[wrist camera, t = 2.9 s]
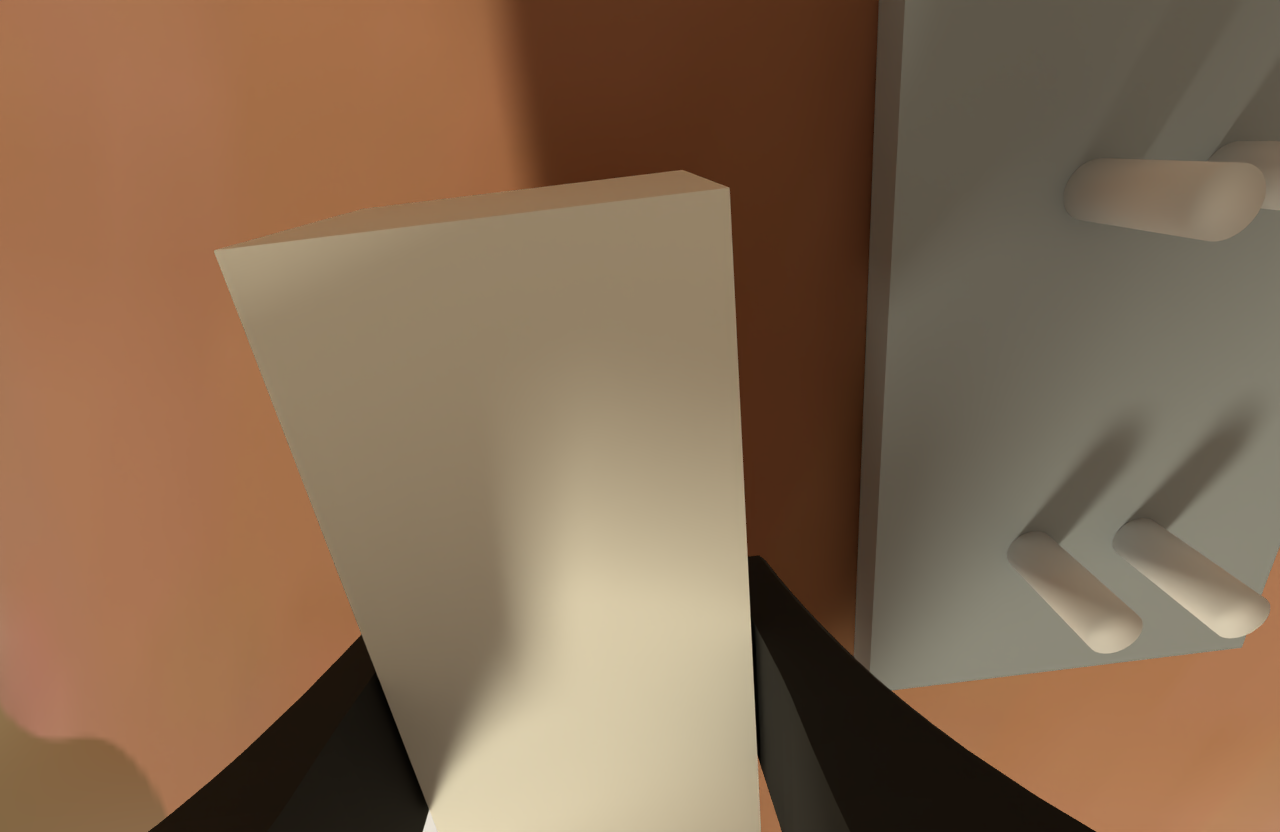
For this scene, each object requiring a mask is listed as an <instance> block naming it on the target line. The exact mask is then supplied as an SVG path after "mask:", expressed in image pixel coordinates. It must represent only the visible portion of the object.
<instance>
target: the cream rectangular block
mask: <svg viewBox="0 0 1280 832" xmlns="http://www.w3.org/2000/svg"><path fill="white" fill-rule="evenodd" d="M214 253H215V255H216V258H217V260H218V263H219V266H220V268H221V271H222V273H223V276H224V279H225V281H226V284H227V286H228V289H229V292H230V294H231V297H232V299H233V302H234V305H235V307H236V310H237V312H238V315H239V318H240V320H241V323H242V325H243V328H244V330H245V333H246V336H247V338H248V341H249V343H250V346H251V349H252V351H253V354H254V356H255V359H256V362H257V364H258V367H259V369H260V372H261V375H262V377H263V380H264V382H265V385H266V388H267V390H268V393H269V395H270V398H271V401H272V403H273V406H274V408H275V411H276V414H277V416H278V419H279V421H280V424H281V426H282V429H283V432H284V434H285V437H286V439H287V442H288V445H289V447H290V450H291V452H292V455H293V458H294V460H295V463H296V465H297V468H298V471H299V473H300V476H301V478H302V481H303V484H304V486H305V489H306V491H307V494H308V497H309V499H310V502H311V504H312V507H313V510H314V512H315V515H316V517H317V520H318V522H319V525H320V528H321V530H322V533H323V535H324V538H325V541H326V543H327V546H328V548H329V551H330V554H331V556H332V559H333V561H334V564H335V567H336V569H337V572H338V574H339V577H340V580H341V582H342V585H343V587H344V590H345V593H346V595H347V598H348V600H349V603H350V606H351V608H352V611H353V613H354V616H355V618H356V621H357V624H358V626H359V629H360V631H361V634H362V637H363V639H364V642H365V644H366V647H367V650H368V652H369V655H370V657H371V660H372V663H373V665H374V668H375V670H376V673H377V676H378V678H379V681H380V683H381V686H382V689H383V691H384V694H385V696H386V699H387V702H388V704H389V707H390V709H391V712H392V714H393V717H394V720H395V722H396V725H397V727H398V730H399V733H400V735H401V738H402V740H403V743H404V746H405V748H406V751H407V753H408V756H409V759H410V761H411V764H412V766H413V769H414V772H415V774H416V777H417V779H418V782H419V785H420V787H421V790H422V792H423V795H424V798H425V800H426V803H427V805H428V808H429V810H430V813H431V816H432V818H433V821H434V823H435V826H436V829H437V831H438V832H761V822H760V801H759V781H758V760H757V740H756V719H755V699H754V678H753V658H752V637H751V617H750V596H749V575H748V555H747V534H746V514H745V493H744V473H743V452H742V432H741V411H740V391H739V370H738V349H737V329H736V308H735V288H734V267H733V247H732V226H731V206H730V188H729V187H727V186H724V185H722V184H719V183H716V182H714V181H711V180H708V179H706V178H703V177H700V176H698V175H695V174H692V173H690V172H687V171H684V170H677V171H669V172H661V173H653V174H644V175H636V176H628V177H620V178H612V179H603V180H595V181H587V182H579V183H571V184H562V185H554V186H546V187H538V188H529V189H521V190H513V191H505V192H497V193H489V194H480V195H472V196H464V197H456V198H448V199H439V200H431V201H423V202H415V203H406V204H398V205H390V206H382V207H374V208H365V209H360V210H357V211H353V212H350V213H346V214H342V215H339V216H335V217H332V218H328V219H325V220H321V221H317V222H314V223H310V224H307V225H303V226H299V227H296V228H292V229H289V230H285V231H282V232H278V233H274V234H271V235H267V236H264V237H260V238H257V239H253V240H249V241H246V242H242V243H239V244H235V245H232V246H228V247H224V248H221V249H217V250H214Z"/></svg>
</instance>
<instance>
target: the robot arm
mask: <svg viewBox="0 0 1280 832" xmlns="http://www.w3.org/2000/svg"><path fill="white" fill-rule="evenodd" d="M748 575H749V596H750V617H751V637H752V658H753V678H754V699H755V719H756V740H757V755H758V758H759V761H760V765H761V768H762V771H763V774H764V777H765V780H766V783H767V786H768V789H769V793H770V796H771V799H772V802H773V805H774V808H775V811H776V814H777V818H778V821H779V824H780V827H781V830H782V832H1096V831H1094V830H1092V829H1091V828H1089V827H1087V826H1086V825H1084V824H1082V823H1081V822H1079V821H1077V820H1076V819H1074V818H1072V817H1071V816H1069V815H1067V814H1066V813H1064V812H1062V811H1061V810H1059V809H1057V808H1056V807H1054V806H1052V805H1050V804H1049V803H1047V802H1045V801H1044V800H1042V799H1041V798H1039V797H1037V796H1036V795H1034V794H1033V793H1031V792H1030V791H1028V790H1027V789H1025V788H1024V787H1022V786H1021V785H1019V784H1018V783H1016V782H1015V781H1013V780H1012V779H1010V778H1009V777H1007V776H1006V775H1004V774H1003V773H1001V772H1000V771H998V770H997V769H995V768H994V767H992V766H991V765H989V764H988V763H986V762H985V761H983V760H982V759H980V758H979V757H977V756H976V755H974V754H973V753H971V752H970V751H968V750H967V749H965V748H964V747H963V746H961V745H960V744H959V743H957V742H956V741H955V740H953V739H952V738H951V737H949V736H948V735H947V734H945V733H944V732H942V731H941V730H940V729H938V728H937V727H936V726H934V725H933V724H932V723H931V722H929V721H928V720H927V719H925V718H924V717H923V716H922V715H920V714H919V713H918V712H917V711H915V710H914V709H913V708H912V707H910V706H909V705H908V704H907V703H905V702H904V701H903V700H902V699H901V698H899V697H898V696H897V695H896V694H895V693H893V692H892V691H891V690H890V689H889V688H888V687H886V686H885V685H884V684H883V683H882V682H881V681H879V680H878V679H877V678H876V677H875V676H874V675H873V674H872V673H871V672H870V671H868V670H867V669H866V668H865V667H864V666H863V665H862V664H861V663H860V662H859V661H857V660H856V659H855V658H854V657H853V656H852V655H851V654H850V653H849V652H848V651H847V650H846V649H845V648H844V647H843V646H842V645H841V644H840V643H839V642H838V641H837V640H836V639H835V638H834V637H833V636H832V635H831V634H830V633H829V632H828V631H827V630H826V629H825V628H824V627H823V626H822V625H821V624H820V623H819V622H818V621H817V620H816V619H815V618H814V617H813V616H812V615H811V614H810V612H809V611H808V610H807V609H806V608H805V607H804V606H803V605H802V604H801V603H800V601H799V600H798V599H797V598H796V597H795V596H794V595H793V594H792V592H791V591H790V590H789V589H788V588H787V587H786V585H785V584H784V583H783V582H782V581H781V579H780V578H779V577H778V576H777V575H776V573H775V572H774V571H773V570H772V568H771V567H770V566H769V564H768V563H767V562H766V560H764V559H763V558H762V557H760V556H751V557H748ZM149 832H438V831H437V829H436V826H435V823H434V821H433V818H432V816H431V813H430V810H429V808H428V805H427V803H426V800H425V798H424V795H423V792H422V790H421V787H420V785H419V782H418V779H417V777H416V774H415V772H414V769H413V766H412V764H411V761H410V759H409V756H408V753H407V751H406V748H405V746H404V743H403V740H402V738H401V735H400V733H399V730H398V727H397V725H396V722H395V720H394V717H393V714H392V712H391V709H390V707H389V704H388V702H387V699H386V696H385V694H384V691H383V689H382V686H381V683H380V681H379V678H378V676H377V673H376V670H375V668H374V665H373V663H372V660H371V657H370V655H369V652H368V650H367V647H366V644H365V642H364V639H363V637H362V635H361V636H360V637H359V638H358V639H357V640H356V641H355V642H354V643H353V644H352V645H351V646H350V647H349V648H348V649H347V650H346V652H345V653H344V654H343V655H342V656H341V657H340V658H339V659H338V660H337V661H336V662H335V663H334V664H333V665H332V666H331V667H330V668H329V669H328V670H327V671H326V672H325V673H324V674H323V675H322V676H321V677H320V678H319V679H318V680H317V681H316V682H315V683H314V684H313V686H312V687H311V688H310V689H309V690H308V691H307V692H306V693H305V694H304V695H303V696H302V697H301V698H300V699H299V700H298V701H296V702H295V703H294V704H293V705H292V706H291V707H290V708H289V709H288V710H287V711H286V712H285V713H284V714H283V715H282V716H281V717H280V718H279V719H278V720H277V721H275V722H274V723H273V724H272V725H271V726H270V727H269V728H268V729H267V730H266V731H265V732H264V733H263V734H262V735H261V736H260V737H259V738H258V739H257V740H256V741H255V742H253V743H252V744H251V745H250V746H249V747H248V748H247V749H246V750H245V751H244V752H243V753H242V754H241V755H239V756H238V757H237V758H236V759H235V760H234V761H233V762H232V763H231V764H229V765H228V766H227V767H226V768H225V769H224V770H223V771H221V772H220V773H219V774H218V775H217V776H216V777H215V778H213V779H212V780H211V781H210V782H209V783H207V784H206V785H205V786H204V787H203V788H201V789H200V790H199V791H198V792H197V793H196V794H194V795H193V796H192V797H191V798H190V799H188V800H187V801H186V802H185V803H184V804H182V805H181V806H180V807H179V808H178V809H176V810H175V811H174V812H173V813H171V814H170V815H169V816H168V817H166V818H165V819H164V820H163V821H162V822H160V823H159V824H158V825H157V826H155V827H154V828H152V829H151V830H150V831H149Z"/></svg>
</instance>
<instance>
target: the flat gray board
mask: <svg viewBox="0 0 1280 832" xmlns="http://www.w3.org/2000/svg"><path fill="white" fill-rule="evenodd" d="M1279 547H1280V0H879V13H878V39H877V65H876V91H875V117H874V144H873V170H872V196H871V222H870V248H869V274H868V301H867V327H866V353H865V379H864V405H863V431H862V457H861V484H860V510H859V536H858V562H857V588H856V614H855V641H854V658H855V659H856V660H857V661H859V662H860V663H861V664H862V665H863V666H864V667H865V668H866V669H867V670H868V671H870V672H871V673H872V674H873V675H874V676H875V677H876V678H877V679H878V680H879V681H881V682H882V683H883V684H884V685H885V686H886V687H888V688H889V689H890V690H899V689H907V688H915V687H923V686H931V685H940V684H948V683H956V682H964V681H972V680H981V679H989V678H997V677H1005V676H1013V675H1021V674H1030V673H1038V672H1046V671H1054V670H1062V669H1071V668H1079V667H1087V666H1095V665H1103V664H1111V663H1120V662H1128V661H1136V660H1144V659H1152V658H1161V657H1169V656H1177V655H1185V654H1193V653H1201V652H1210V651H1218V650H1226V649H1234V648H1242V645H1243V643H1244V640H1245V637H1246V635H1247V634H1249V633H1251V632H1253V631H1254V630H1256V629H1257V628H1259V627H1260V626H1261V625H1262V624H1263V623H1264V622H1265V620H1266V619H1267V617H1268V615H1269V613H1270V604H1269V602H1268V600H1267V599H1265V598H1264V597H1263V596H1261V595H1262V592H1263V589H1264V587H1265V584H1266V581H1267V579H1268V576H1269V573H1270V571H1271V568H1272V565H1273V563H1274V560H1275V557H1276V555H1277V552H1278V549H1279Z"/></svg>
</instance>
